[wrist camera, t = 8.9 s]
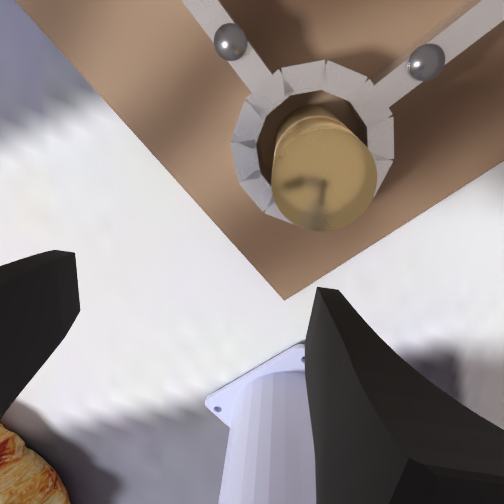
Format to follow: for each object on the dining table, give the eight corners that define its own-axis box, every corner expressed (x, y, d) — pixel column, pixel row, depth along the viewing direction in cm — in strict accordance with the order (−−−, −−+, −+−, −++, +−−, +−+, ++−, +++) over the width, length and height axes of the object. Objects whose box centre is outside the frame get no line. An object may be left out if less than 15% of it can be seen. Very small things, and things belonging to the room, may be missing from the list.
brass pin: (356, 146, 17) (397, 192, 11) (302, 186, 18) (310, 249, 12) (318, 90, 16) (338, 104, 10) (262, 135, 17) (249, 174, 11)
